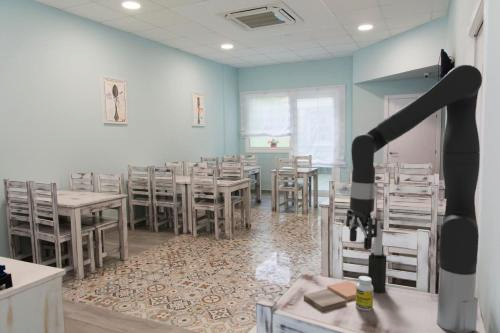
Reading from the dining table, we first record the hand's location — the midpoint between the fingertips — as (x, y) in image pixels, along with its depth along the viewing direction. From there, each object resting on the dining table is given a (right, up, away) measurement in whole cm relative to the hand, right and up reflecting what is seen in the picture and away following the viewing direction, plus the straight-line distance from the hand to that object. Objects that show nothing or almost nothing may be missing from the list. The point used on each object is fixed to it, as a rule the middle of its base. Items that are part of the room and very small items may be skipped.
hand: (359, 245), depth 118 cm
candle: (+10, -20, +13) cm, 26 cm away
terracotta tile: (-1, -19, +11) cm, 22 cm away
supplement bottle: (+1, -21, 0) cm, 21 cm away
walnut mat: (-11, -20, +4) cm, 23 cm away
